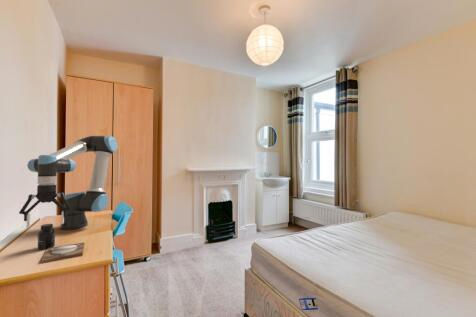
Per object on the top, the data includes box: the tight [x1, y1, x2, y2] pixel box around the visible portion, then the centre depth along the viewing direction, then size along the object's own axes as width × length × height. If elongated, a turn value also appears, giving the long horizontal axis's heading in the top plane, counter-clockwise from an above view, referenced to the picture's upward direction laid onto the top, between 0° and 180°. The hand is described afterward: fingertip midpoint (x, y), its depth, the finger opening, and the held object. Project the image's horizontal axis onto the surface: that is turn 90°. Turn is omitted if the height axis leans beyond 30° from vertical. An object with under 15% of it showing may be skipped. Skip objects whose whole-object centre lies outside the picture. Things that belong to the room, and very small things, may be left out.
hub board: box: [40, 242, 85, 264], centre depth 109 cm, size 16×15×2 cm
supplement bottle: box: [37, 223, 56, 251], centre depth 115 cm, size 7×7×12 cm
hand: (46, 225), depth 115 cm, fingers open, 13 cm apart
